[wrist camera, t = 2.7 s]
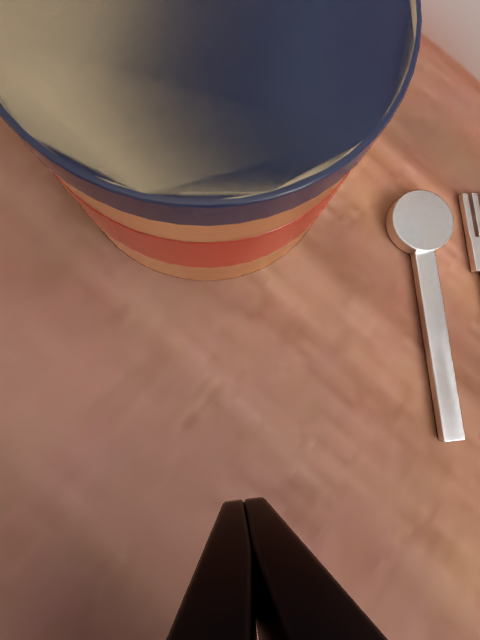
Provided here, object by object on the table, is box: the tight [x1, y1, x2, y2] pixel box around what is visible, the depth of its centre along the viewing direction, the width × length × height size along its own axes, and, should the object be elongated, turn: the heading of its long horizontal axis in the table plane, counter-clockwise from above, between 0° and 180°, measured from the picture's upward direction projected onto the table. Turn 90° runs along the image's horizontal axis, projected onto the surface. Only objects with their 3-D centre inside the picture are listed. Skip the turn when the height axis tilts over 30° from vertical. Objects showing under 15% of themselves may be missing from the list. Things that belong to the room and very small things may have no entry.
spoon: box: [386, 190, 465, 442], centre depth 19 cm, size 14×4×1 cm, turn 5°
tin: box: [0, 0, 422, 281], centre depth 15 cm, size 14×14×9 cm
